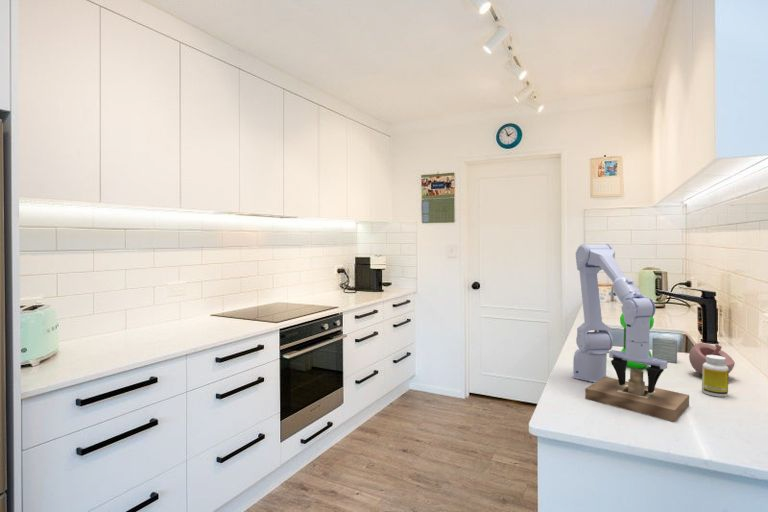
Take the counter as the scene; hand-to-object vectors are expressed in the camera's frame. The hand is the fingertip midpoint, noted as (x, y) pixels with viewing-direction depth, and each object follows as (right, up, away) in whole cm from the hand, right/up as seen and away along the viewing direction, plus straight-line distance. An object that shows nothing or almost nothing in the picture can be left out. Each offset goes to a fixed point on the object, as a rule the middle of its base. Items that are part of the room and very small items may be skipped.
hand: (636, 388), depth 123 cm
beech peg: (0, -4, 0) cm, 4 cm away
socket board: (0, -4, 0) cm, 4 cm away
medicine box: (+34, -2, +41) cm, 54 cm away
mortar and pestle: (+37, -3, +22) cm, 43 cm away
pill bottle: (+27, -4, +7) cm, 28 cm away
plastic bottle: (+19, -3, +34) cm, 39 cm away
